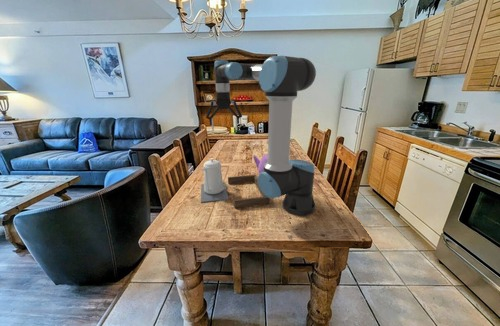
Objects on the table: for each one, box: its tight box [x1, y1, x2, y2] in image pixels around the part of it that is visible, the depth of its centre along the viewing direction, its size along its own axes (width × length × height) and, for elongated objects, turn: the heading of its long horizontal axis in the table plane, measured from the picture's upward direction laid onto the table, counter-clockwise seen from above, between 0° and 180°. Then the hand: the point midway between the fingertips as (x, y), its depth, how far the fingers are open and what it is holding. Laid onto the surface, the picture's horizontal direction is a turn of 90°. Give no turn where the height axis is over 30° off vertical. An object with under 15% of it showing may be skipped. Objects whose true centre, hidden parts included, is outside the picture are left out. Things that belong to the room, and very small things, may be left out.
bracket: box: [227, 174, 271, 209], centre depth 119 cm, size 30×17×4 cm, turn 12°
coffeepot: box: [201, 157, 224, 194], centre depth 118 cm, size 11×25×19 cm, turn 168°
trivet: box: [200, 181, 229, 204], centre depth 121 cm, size 22×14×1 cm, turn 12°
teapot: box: [252, 153, 268, 174], centre depth 143 cm, size 20×20×15 cm
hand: (224, 130), depth 126 cm, fingers open, 13 cm apart
